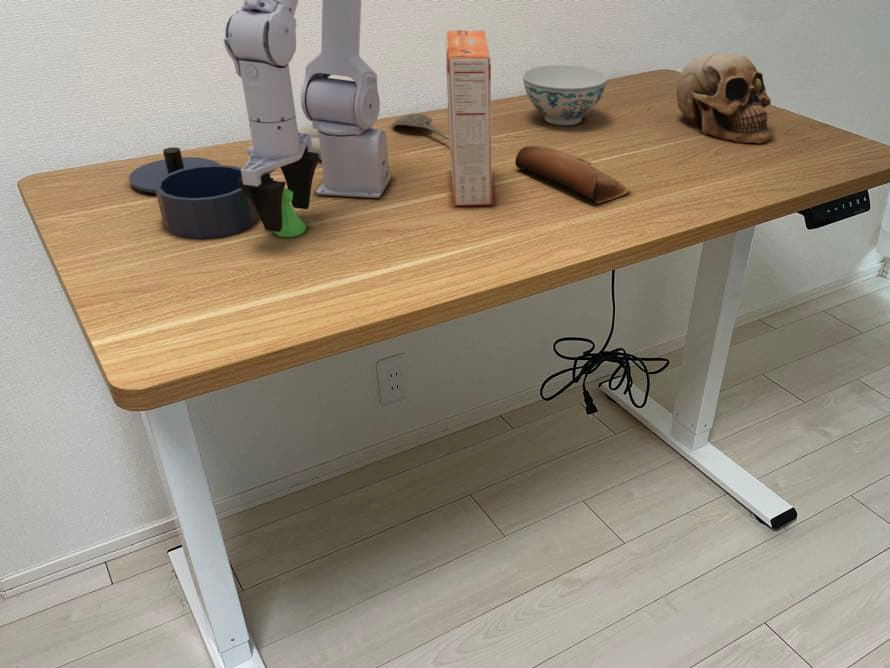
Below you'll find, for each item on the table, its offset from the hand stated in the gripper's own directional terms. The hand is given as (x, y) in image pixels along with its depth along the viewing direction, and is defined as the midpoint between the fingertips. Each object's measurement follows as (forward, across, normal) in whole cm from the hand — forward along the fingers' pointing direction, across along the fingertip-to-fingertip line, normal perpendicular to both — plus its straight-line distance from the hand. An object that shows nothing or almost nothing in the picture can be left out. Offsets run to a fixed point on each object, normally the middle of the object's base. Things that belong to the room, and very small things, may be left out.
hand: (287, 218), depth 113 cm
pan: (+2, 0, -12) cm, 12 cm away
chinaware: (+2, -58, +24) cm, 63 cm away
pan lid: (+1, -11, -24) cm, 27 cm away
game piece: (+2, 0, 0) cm, 2 cm away
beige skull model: (+2, -63, +53) cm, 82 cm away
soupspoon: (+2, -40, +6) cm, 40 cm away
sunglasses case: (+2, -29, +32) cm, 44 cm away
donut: (+2, -29, -9) cm, 30 cm away
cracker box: (+2, -22, +18) cm, 28 cm away
